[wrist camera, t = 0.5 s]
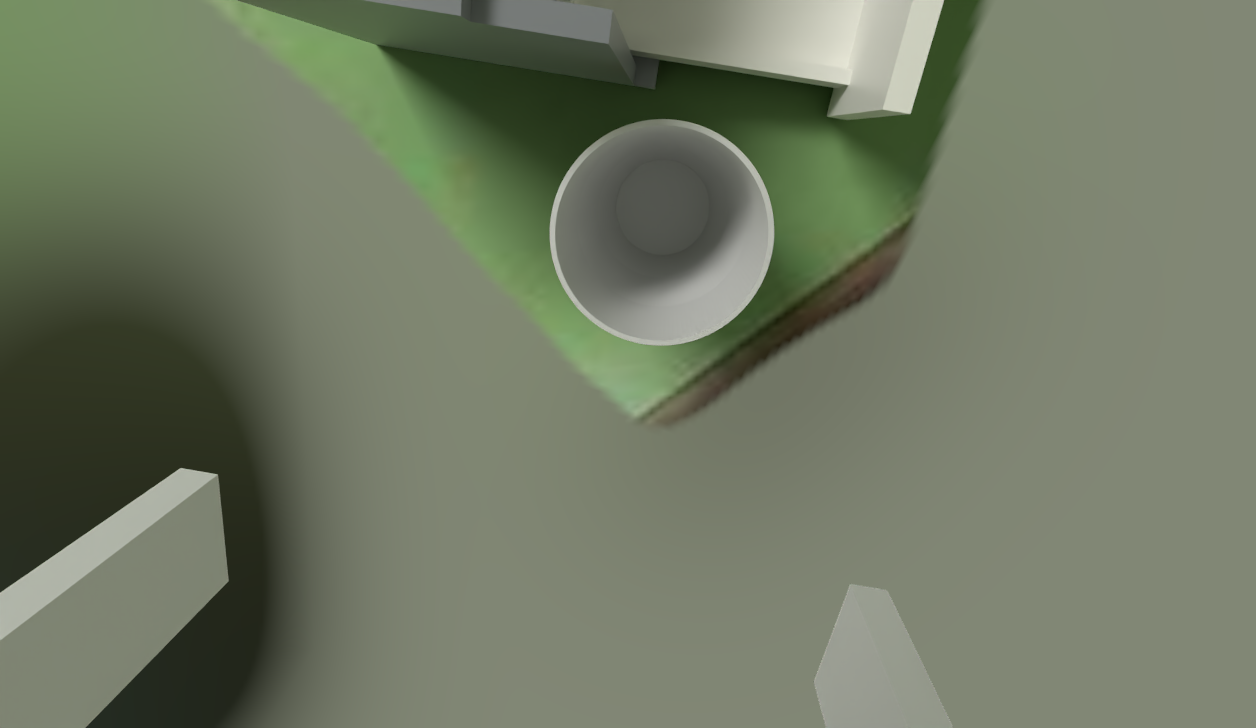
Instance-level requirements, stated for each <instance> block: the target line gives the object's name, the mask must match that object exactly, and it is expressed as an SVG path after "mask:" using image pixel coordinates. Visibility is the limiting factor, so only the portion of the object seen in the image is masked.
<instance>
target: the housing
mask: <svg viewBox="0 0 1256 728" xmlns="http://www.w3.org/2000/svg"><path fill="white" fill-rule="evenodd" d="M238 1H241V2H244V3H248V4H251V5H254V6H257V7H260V8H263V9H266V10H269V11H273V12H276V13H279V14H282V15H285V16H288V17H291V18H295V19H298V20H301V21H304V22H307V23H310V24H313V25H316V26H320V27H323V28H326V29H329V30H332V31H335V32H338V33H341V34H345V35H348V36H351V37H354V38H357V39H360V40H363V41H366V42H370V43H373V44H376V45H382V46H388V47H394V48H401V49H407V50H413V51H419V52H425V53H431V54H438V55H444V56H450V57H456V58H462V59H469V60H475V61H481V62H487V63H493V64H500V65H506V66H512V67H518V68H524V69H530V70H537V71H543V72H549V73H555V74H561V75H568V76H574V77H580V78H586V79H592V80H599V81H605V82H611V83H617V84H623V85H630V86H636V87H642V88H648V89H654V90H655V87H656V80H657V74H658V67H659V60H658V59H652V58H646V57H640V56H634V55H631V52H630V50H629V47H628V45H627V43H626V40H625V38H624V35H623V33H622V31H621V28H620V26H619V23H618V21H617V19H616V16H615V14H614V12H613V10H611V9H605V8H599V7H593V6H586V5H580V4H574V3H568V2H562V1H556V0H238Z"/></svg>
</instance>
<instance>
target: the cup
mask: <svg viewBox="0 0 1256 728" xmlns="http://www.w3.org/2000/svg"><path fill="white" fill-rule="evenodd" d="M773 244H774V219H773V212H772V207H771V202H770V199H769V196H768V193H767V190H766V188H765V185H764V183H763V181H762V179H761V177H760V175H759V174H758V172H757V170H756V169H755V167H754V166H753V164H752V163H751V162H750V161H749V159H748V158H747V157H746V156H745V155H744V154H743V153H742V152H741V151H740V150H739V149H738V148H737V147H736V146H735V145H734V144H732V143H731V142H730V141H729V140H727V139H726V138H724V137H723V136H721V135H720V134H718V133H716V132H714V131H712V130H710V129H708V128H706V127H703V126H700V125H697V124H694V123H690V122H686V121H681V120H673V119H653V120H645V121H640V122H635V123H632V124H629V125H626V126H623V127H620V128H618V129H616V130H614V131H612V132H610V133H608V134H606V135H605V136H603V137H601V138H600V139H598V140H597V141H596V142H594V143H593V144H592V145H591V146H590V147H588V148H587V149H586V150H585V151H584V152H583V153H582V154H581V155H580V156H579V157H578V159H577V160H576V161H575V162H574V163H573V165H572V166H571V168H570V169H569V170H568V172H567V174H566V175H565V177H564V179H563V181H562V183H561V185H560V187H559V189H558V192H557V194H556V197H555V201H554V204H553V208H552V213H551V220H550V247H551V254H552V259H553V263H554V266H555V269H556V272H557V275H558V277H559V280H560V282H561V284H562V286H563V288H564V289H565V291H566V293H567V294H568V296H569V297H570V299H571V300H572V302H573V303H574V304H575V305H576V307H577V308H578V309H579V310H580V311H581V312H582V313H583V314H584V315H585V316H586V317H587V318H588V319H590V320H591V321H592V322H593V323H595V324H596V325H597V326H599V327H600V328H602V329H603V330H605V331H607V332H609V333H611V334H613V335H615V336H617V337H620V338H622V339H625V340H628V341H631V342H635V343H640V344H646V345H675V344H682V343H686V342H690V341H694V340H697V339H700V338H702V337H705V336H707V335H709V334H711V333H713V332H715V331H717V330H718V329H720V328H722V327H723V326H725V325H726V324H727V323H729V322H730V321H731V320H733V319H734V318H735V317H736V316H737V315H738V314H739V313H740V312H741V311H742V310H743V309H744V308H745V307H746V306H747V305H748V303H749V302H750V301H751V300H752V298H753V297H754V295H755V294H756V292H757V291H758V289H759V287H760V285H761V284H762V281H763V279H764V277H765V275H766V272H767V270H768V267H769V264H770V260H771V256H772V251H773Z"/></svg>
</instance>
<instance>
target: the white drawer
mask: <svg viewBox="0 0 1256 728" xmlns="http://www.w3.org/2000/svg"><path fill="white" fill-rule="evenodd" d="M556 1H562V2H568V3H574V4H580V5H586V6H593V7H599V8H605V9H611V10H613V12H614V14H615V16H616V19H617V21H618V23H619V26H620V28H621V31H622V33H623V35H624V38H625V40H626V43H627V45H628V47H629V50H630V52H631V55H634V56H640V57H646V58H652V59H658V60H665V61H671V62H677V63H683V64H689V65H696V66H702V67H708V68H714V69H720V70H727V71H733V72H739V73H745V74H751V75H758V76H764V77H770V78H776V79H782V80H789V81H795V82H801V83H807V84H813V85H819V86H826V87H832V88H834V89H833V93H832V97H831V101H830V105H829V109H828V113H827V117H831V118H837V119H844V120H853V119H864V118H874V117H885V116H895V115H906V114H911V111H912V107H913V104H914V101H915V97H916V94H917V90H918V87H919V84H920V80H921V77H922V73H923V70H924V67H925V63H926V60H927V56H928V53H929V50H930V46H931V43H932V40H933V36H934V33H935V29H936V26H937V23H938V19H939V16H940V12H941V9H942V6H943V2H944V0H556Z"/></svg>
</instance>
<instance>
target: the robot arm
mask: <svg viewBox="0 0 1256 728" xmlns="http://www.w3.org/2000/svg"><path fill="white" fill-rule="evenodd" d="M219 492H220V491H219V482H218V475H217V474H212V473H206V472H200V471H194V470H188V469H183V468H180V469H179V470H177V471H176V472H175V473H173V474H172V475H170V476H169V477H168V478H166V479H165V480H163V481H162V482H160V483H159V484H157V485H156V486H154V487H153V488H151V489H150V490H149V491H147V492H146V493H144V494H143V495H141V496H140V497H138V498H137V499H136V500H134V501H133V502H131V503H130V504H128V505H127V506H125V507H124V508H122V509H121V510H120V511H118V512H117V513H115V514H114V515H112V516H111V517H109V518H108V519H107V520H105V521H104V522H102V523H101V524H99V525H98V526H97V527H95V528H93V529H92V530H91V531H89V532H88V533H86V534H85V535H83V536H82V537H80V538H79V539H78V540H76V541H75V542H74V543H72V544H70V545H69V546H67V547H66V548H65V549H63V550H62V551H60V552H59V553H57V554H56V555H54V556H53V557H52V558H50V559H49V560H47V561H46V562H44V563H43V564H41V565H40V566H39V567H37V568H36V569H34V570H33V571H31V572H30V573H28V574H27V575H26V576H24V577H23V578H21V579H20V580H18V581H17V582H15V583H14V584H12V585H11V586H9V587H8V588H7V589H5V590H4V591H2V592H1V593H0V728H85V727H86V726H87V725H88V724H89V723H90V722H91V721H92V720H93V719H94V718H95V717H96V716H97V715H98V714H99V713H100V712H101V711H102V710H103V709H104V708H105V707H106V706H107V705H108V704H109V703H110V702H111V701H112V700H113V698H115V697H116V696H117V695H118V694H119V692H120V691H121V690H122V689H123V688H124V687H125V686H126V685H127V684H128V683H129V682H130V681H131V680H132V679H133V678H134V677H135V676H136V675H137V674H138V673H139V672H140V671H141V670H142V669H143V668H144V667H145V666H146V665H147V664H148V663H149V662H150V661H151V660H152V659H153V658H154V657H155V656H156V655H157V654H158V653H159V652H160V651H161V650H162V648H163V647H164V646H165V645H166V644H167V643H168V642H169V641H170V640H171V639H172V638H173V637H174V636H175V635H176V634H177V633H178V632H179V631H180V630H181V629H182V628H183V627H184V626H185V625H186V624H187V623H188V622H189V621H190V620H191V619H192V618H193V617H194V615H195V614H197V612H199V611H200V610H201V609H202V608H203V606H205V605H206V603H207V602H208V601H209V600H210V599H211V598H212V597H213V596H214V595H215V594H216V593H217V592H218V591H219V590H220V589H221V588H222V587H223V586H224V585H225V584H226V583H227V582H228V571H227V561H226V551H225V541H224V532H223V521H222V513H221V512H222V511H221V501H220V493H219ZM814 685H815V688H816V692H817V695H818V699H819V703H820V706H821V710H822V714H823V718H824V722H825V725H826V728H953V726H952V724H951V722H950V720H949V718H948V715H947V714H946V711H945V709H944V707H943V705H942V703H941V701H940V699H939V697H938V695H937V693H936V691H935V689H934V686H933V684H932V682H931V680H930V678H929V676H928V674H927V672H926V670H925V668H924V666H923V664H922V662H921V659H920V657H919V655H918V653H917V651H916V649H915V647H914V645H913V643H912V641H911V639H910V637H909V635H908V633H907V631H906V628H905V626H904V624H903V622H902V620H901V618H900V616H899V614H898V612H897V610H896V608H895V606H894V603H893V602H892V599H891V598H890V595H889V593H888V591H887V590H883V589H876V588H871V587H865V586H860V585H854V584H850V586H849V589H848V591H847V594H846V597H845V600H844V602H843V605H842V608H841V610H840V613H839V616H838V618H837V621H836V624H835V626H834V629H833V632H832V634H831V637H830V640H829V642H828V645H827V648H826V650H825V653H824V656H823V659H822V661H821V664H820V667H819V669H818V672H817V675H816V678H815V680H814Z"/></svg>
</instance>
